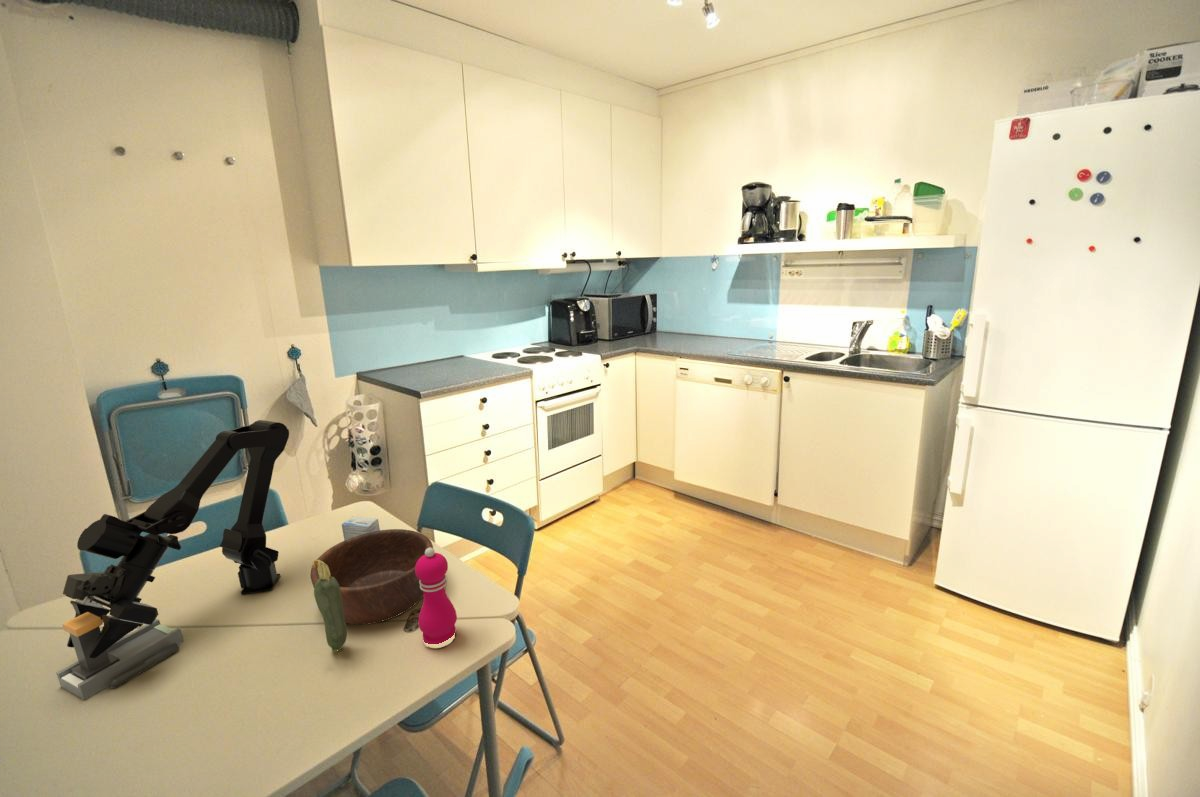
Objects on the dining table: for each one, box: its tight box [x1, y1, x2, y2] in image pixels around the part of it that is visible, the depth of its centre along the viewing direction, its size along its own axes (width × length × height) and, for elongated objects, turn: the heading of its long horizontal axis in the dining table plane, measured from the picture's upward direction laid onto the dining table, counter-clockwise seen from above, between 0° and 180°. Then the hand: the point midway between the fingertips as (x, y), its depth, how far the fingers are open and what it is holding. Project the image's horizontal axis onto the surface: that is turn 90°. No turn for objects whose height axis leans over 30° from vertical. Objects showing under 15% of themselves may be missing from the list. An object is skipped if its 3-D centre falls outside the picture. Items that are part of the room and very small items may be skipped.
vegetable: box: [312, 559, 348, 652], centre depth 102 cm, size 4×4×20 cm
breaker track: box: [56, 618, 185, 701], centre depth 103 cm, size 16×13×3 cm
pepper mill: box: [415, 547, 458, 644], centre depth 105 cm, size 7×7×20 cm
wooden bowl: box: [310, 528, 434, 625], centre depth 120 cm, size 25×25×10 cm
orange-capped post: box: [61, 612, 120, 680], centre depth 98 cm, size 5×5×10 cm
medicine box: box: [341, 515, 381, 541], centre depth 140 cm, size 8×4×9 cm, turn 77°
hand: (80, 652), depth 97 cm, fingers open, 7 cm apart
